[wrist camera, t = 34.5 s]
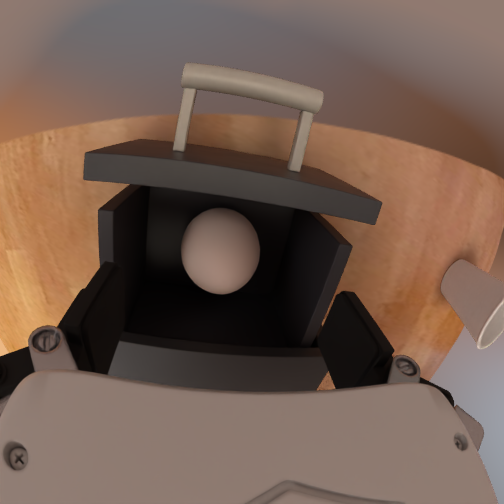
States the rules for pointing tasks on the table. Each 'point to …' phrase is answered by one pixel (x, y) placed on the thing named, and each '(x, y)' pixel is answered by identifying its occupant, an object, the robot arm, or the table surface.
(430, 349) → the table surface
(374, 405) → the robot arm
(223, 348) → the cabinet
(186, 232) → the egg
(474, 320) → the dixie cup
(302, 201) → the drawer
